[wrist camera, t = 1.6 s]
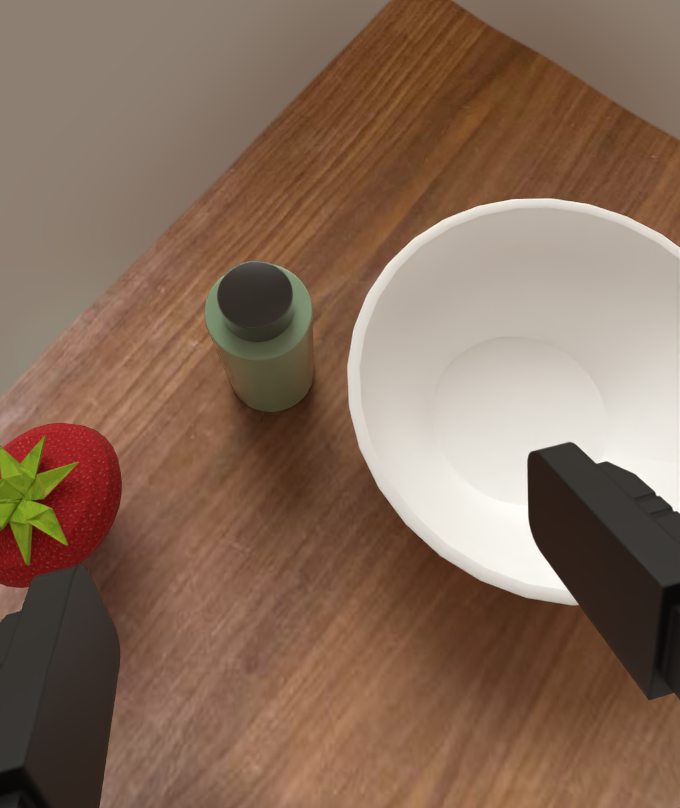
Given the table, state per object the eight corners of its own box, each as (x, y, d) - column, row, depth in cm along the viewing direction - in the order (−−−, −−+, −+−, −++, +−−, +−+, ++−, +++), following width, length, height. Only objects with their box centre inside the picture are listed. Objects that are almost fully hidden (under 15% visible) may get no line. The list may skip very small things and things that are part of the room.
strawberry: (175, 480, 33) (117, 432, 24) (96, 612, 31) (-3, 618, 22) (83, 430, 34) (-10, 365, 24) (-2, 556, 32) (-139, 538, 22)
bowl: (426, 218, 39) (447, 141, 32) (729, 349, 37) (818, 295, 30) (280, 500, 33) (270, 476, 27) (627, 673, 31) (709, 693, 24)
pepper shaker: (218, 399, 35) (181, 329, 26) (244, 323, 36) (219, 231, 27) (300, 422, 34) (292, 359, 25) (324, 345, 36) (325, 259, 27)
